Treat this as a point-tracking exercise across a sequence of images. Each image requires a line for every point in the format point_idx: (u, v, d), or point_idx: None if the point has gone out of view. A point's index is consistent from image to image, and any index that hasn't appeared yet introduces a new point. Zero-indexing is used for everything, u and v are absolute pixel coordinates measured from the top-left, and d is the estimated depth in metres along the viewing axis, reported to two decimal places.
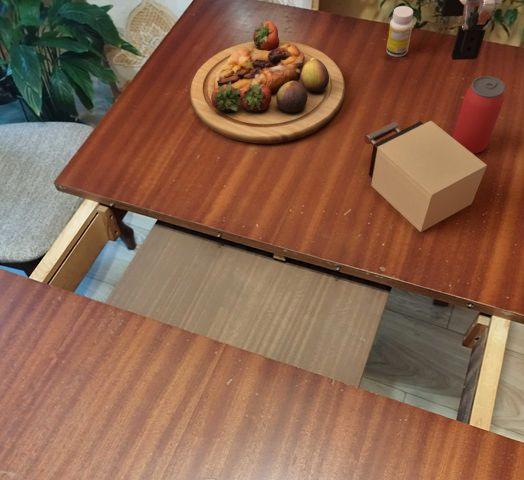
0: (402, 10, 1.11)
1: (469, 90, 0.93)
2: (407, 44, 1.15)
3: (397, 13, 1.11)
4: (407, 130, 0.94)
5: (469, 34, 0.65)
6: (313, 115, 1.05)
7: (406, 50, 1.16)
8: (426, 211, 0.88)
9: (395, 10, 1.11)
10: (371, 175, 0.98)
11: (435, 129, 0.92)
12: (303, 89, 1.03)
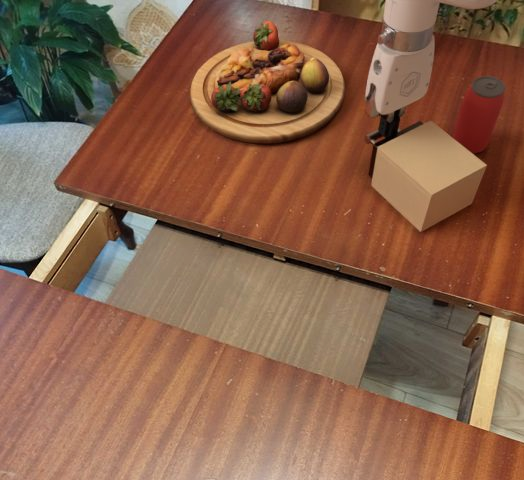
0: None
1: (469, 90, 0.93)
2: None
3: None
4: (407, 130, 0.94)
5: (381, 119, 0.93)
6: (313, 115, 1.05)
7: None
8: (426, 211, 0.88)
9: None
10: (371, 175, 0.98)
11: (435, 129, 0.92)
12: (303, 89, 1.03)
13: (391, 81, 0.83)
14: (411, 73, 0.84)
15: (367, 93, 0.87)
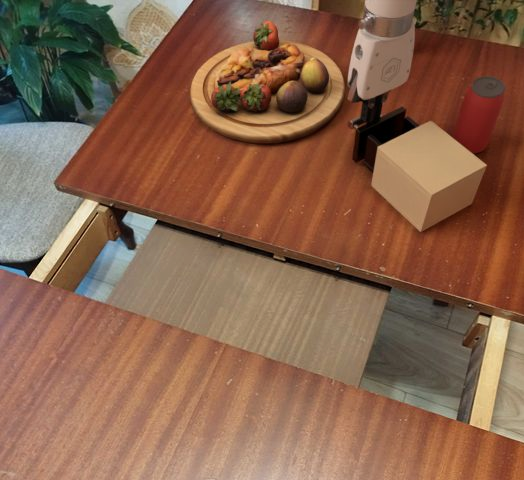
0: None
1: (469, 90, 0.93)
2: None
3: None
4: (389, 115, 0.96)
5: (363, 105, 0.95)
6: (313, 115, 1.05)
7: None
8: (426, 211, 0.88)
9: None
10: (354, 159, 1.00)
11: (435, 129, 0.92)
12: (303, 89, 1.03)
13: (371, 66, 0.85)
14: (391, 58, 0.86)
15: (349, 78, 0.89)
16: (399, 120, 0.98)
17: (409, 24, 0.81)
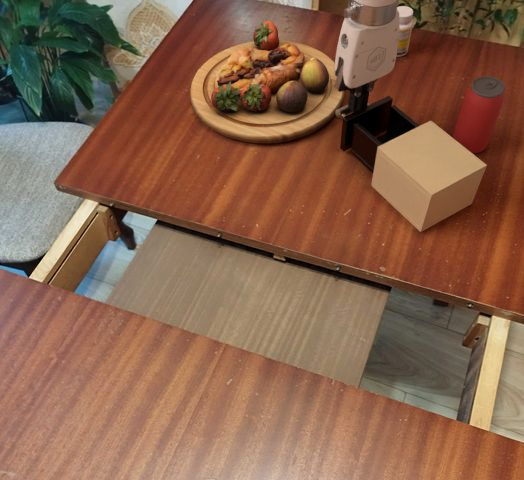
0: (402, 10, 1.11)
1: (469, 90, 0.93)
2: (407, 44, 1.15)
3: None
4: (375, 104, 0.98)
5: (350, 94, 0.97)
6: (313, 115, 1.05)
7: (406, 50, 1.16)
8: (426, 211, 0.88)
9: None
10: (342, 148, 1.02)
11: (435, 129, 0.92)
12: (303, 89, 1.03)
13: (357, 55, 0.87)
14: (377, 47, 0.87)
15: (336, 67, 0.91)
16: (386, 109, 1.00)
17: (393, 13, 0.83)
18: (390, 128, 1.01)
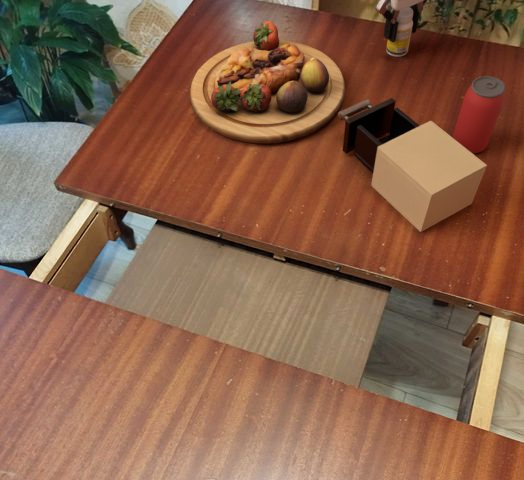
0: (402, 10, 1.11)
1: (469, 90, 0.93)
2: (407, 44, 1.15)
3: None
4: (378, 106, 0.97)
5: (386, 22, 1.11)
6: (313, 115, 1.05)
7: (406, 50, 1.16)
8: (426, 211, 0.88)
9: None
10: (345, 150, 1.01)
11: (435, 129, 0.92)
12: (303, 89, 1.03)
13: None
14: None
15: None
16: (388, 111, 0.99)
17: None
18: (393, 130, 1.00)
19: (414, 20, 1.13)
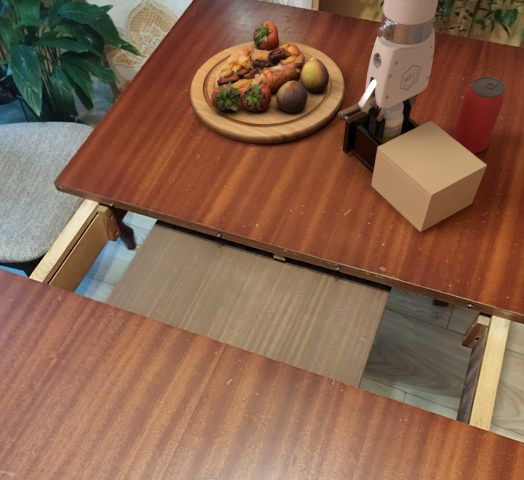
0: None
1: (469, 90, 0.93)
2: None
3: None
4: (378, 106, 0.97)
5: (371, 118, 0.92)
6: (313, 115, 1.05)
7: None
8: (426, 211, 0.88)
9: None
10: (345, 150, 1.01)
11: (435, 129, 0.92)
12: (303, 89, 1.03)
13: (390, 75, 0.82)
14: (411, 66, 0.83)
15: (367, 87, 0.87)
16: None
17: (429, 30, 0.79)
18: None
19: (405, 114, 0.93)
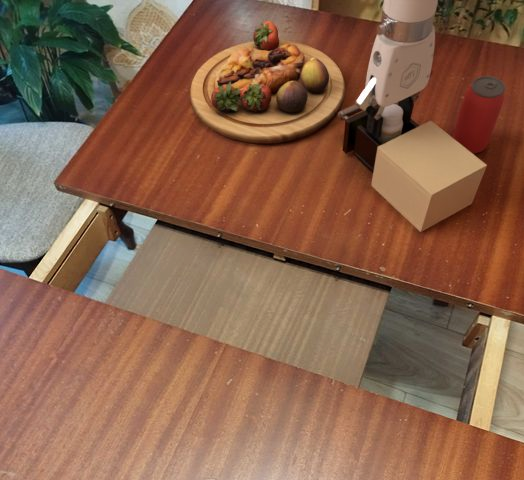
0: (390, 110, 0.93)
1: (469, 90, 0.93)
2: None
3: (384, 113, 0.92)
4: None
5: (369, 116, 0.91)
6: (313, 115, 1.05)
7: None
8: (426, 211, 0.88)
9: None
10: (344, 150, 1.01)
11: (435, 129, 0.92)
12: (303, 89, 1.03)
13: (390, 73, 0.82)
14: (411, 64, 0.83)
15: (367, 85, 0.87)
16: None
17: (429, 28, 0.78)
18: None
19: (407, 110, 0.93)
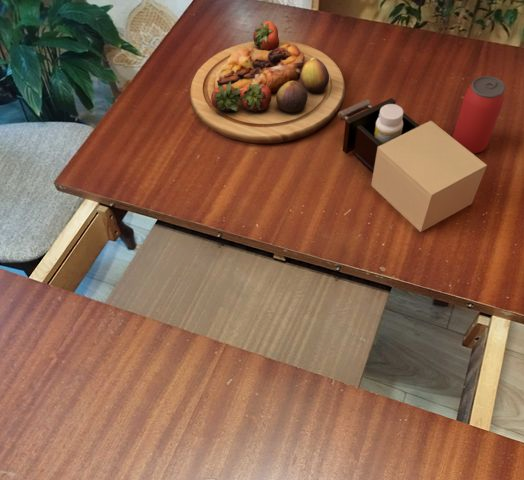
0: (390, 110, 0.93)
1: (469, 90, 0.93)
2: None
3: (385, 114, 0.92)
4: (378, 106, 0.97)
5: None
6: (313, 115, 1.05)
7: None
8: (426, 211, 0.88)
9: (382, 110, 0.93)
10: (345, 150, 1.01)
11: (435, 129, 0.92)
12: (303, 89, 1.03)
13: None
14: None
15: None
16: None
17: None
18: None
19: None
